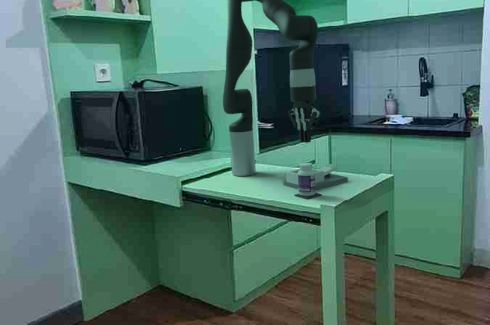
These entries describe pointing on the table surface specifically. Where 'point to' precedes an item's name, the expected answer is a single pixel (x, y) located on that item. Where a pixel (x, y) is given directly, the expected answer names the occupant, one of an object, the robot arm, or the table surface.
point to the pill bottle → (306, 180)
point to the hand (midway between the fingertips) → (305, 142)
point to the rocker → (329, 169)
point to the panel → (320, 179)
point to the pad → (308, 196)
